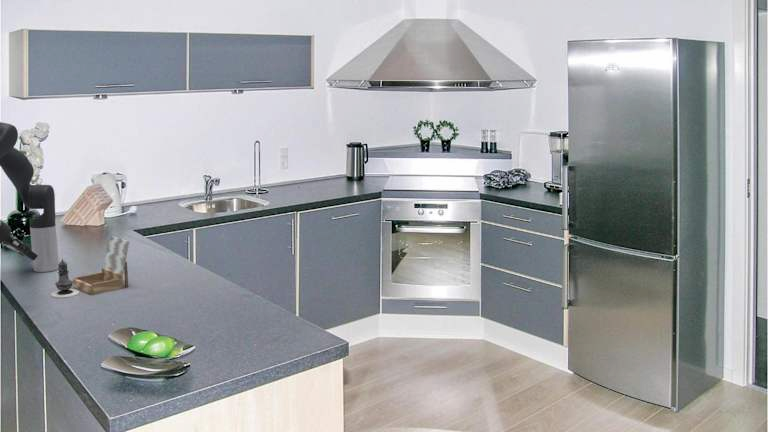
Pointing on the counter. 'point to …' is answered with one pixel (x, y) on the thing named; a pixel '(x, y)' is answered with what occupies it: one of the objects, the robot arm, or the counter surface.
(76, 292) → the saucer
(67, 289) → the grey tall domed piece
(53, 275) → the counter surface
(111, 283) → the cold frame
